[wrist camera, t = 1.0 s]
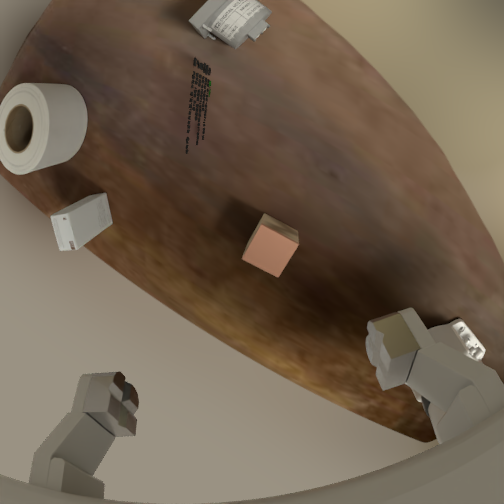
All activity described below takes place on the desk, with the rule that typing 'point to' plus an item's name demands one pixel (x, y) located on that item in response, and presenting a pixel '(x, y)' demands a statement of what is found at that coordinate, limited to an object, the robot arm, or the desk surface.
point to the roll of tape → (41, 126)
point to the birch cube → (271, 245)
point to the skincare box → (81, 221)
